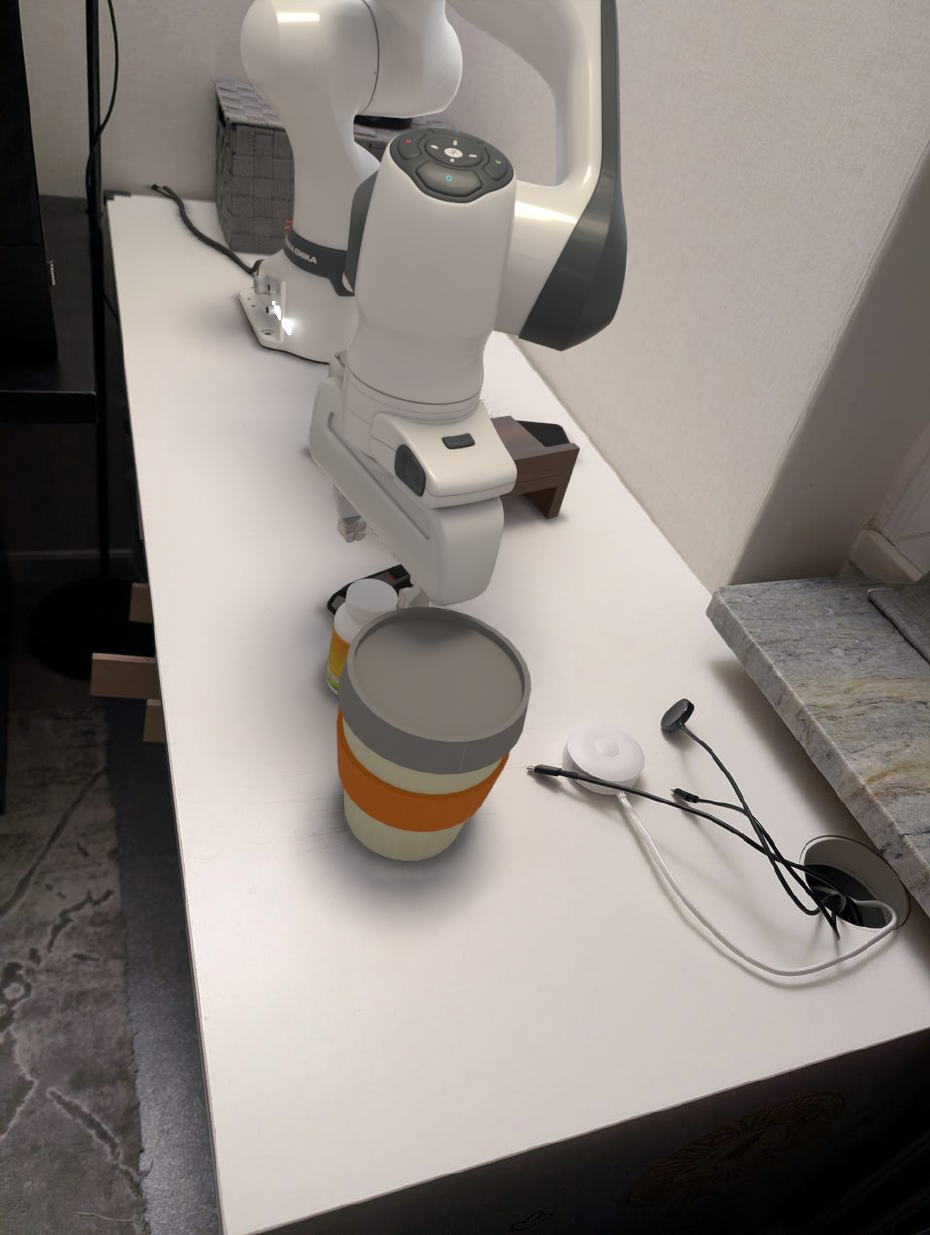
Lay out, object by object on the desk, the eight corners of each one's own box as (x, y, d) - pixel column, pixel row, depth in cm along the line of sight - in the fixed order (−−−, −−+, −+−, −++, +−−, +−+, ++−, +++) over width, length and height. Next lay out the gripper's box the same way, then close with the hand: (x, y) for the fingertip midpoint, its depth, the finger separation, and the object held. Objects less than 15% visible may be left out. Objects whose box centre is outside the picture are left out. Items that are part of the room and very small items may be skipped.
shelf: (350, 486, 97) (361, 412, 91) (498, 459, 107) (516, 391, 102) (406, 551, 90) (421, 477, 85) (557, 516, 101) (580, 448, 95)
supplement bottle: (379, 712, 74) (397, 626, 67) (316, 693, 74) (328, 606, 68) (396, 668, 78) (414, 583, 72) (336, 651, 78) (349, 564, 72)
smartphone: (577, 455, 110) (459, 445, 106) (575, 461, 111) (458, 452, 106) (561, 424, 115) (449, 413, 111) (559, 430, 116) (447, 419, 112)
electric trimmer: (470, 578, 90) (477, 553, 88) (348, 632, 80) (353, 605, 78) (445, 557, 91) (451, 532, 89) (323, 607, 82) (327, 581, 80)
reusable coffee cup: (399, 719, 74) (431, 580, 64) (518, 814, 69) (572, 679, 59) (283, 803, 65) (299, 658, 56) (409, 918, 61) (451, 781, 51)
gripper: (295, 341, 63) (282, 502, 72) (449, 503, 52) (411, 671, 61) (373, 335, 66) (352, 490, 75) (534, 486, 55) (486, 647, 64)
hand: (379, 572), depth 68 cm, fingers open, 8 cm apart
